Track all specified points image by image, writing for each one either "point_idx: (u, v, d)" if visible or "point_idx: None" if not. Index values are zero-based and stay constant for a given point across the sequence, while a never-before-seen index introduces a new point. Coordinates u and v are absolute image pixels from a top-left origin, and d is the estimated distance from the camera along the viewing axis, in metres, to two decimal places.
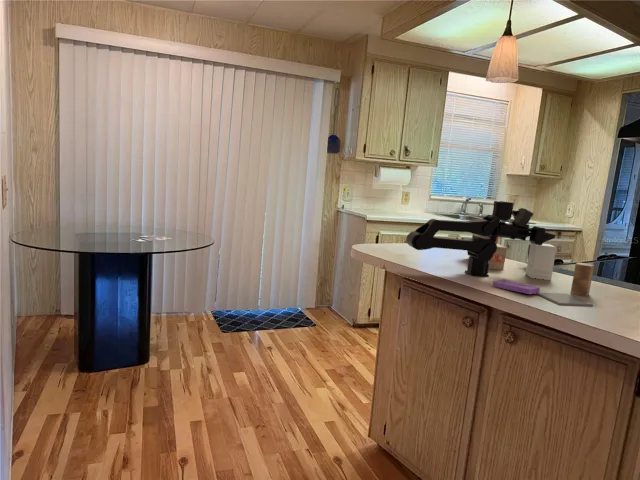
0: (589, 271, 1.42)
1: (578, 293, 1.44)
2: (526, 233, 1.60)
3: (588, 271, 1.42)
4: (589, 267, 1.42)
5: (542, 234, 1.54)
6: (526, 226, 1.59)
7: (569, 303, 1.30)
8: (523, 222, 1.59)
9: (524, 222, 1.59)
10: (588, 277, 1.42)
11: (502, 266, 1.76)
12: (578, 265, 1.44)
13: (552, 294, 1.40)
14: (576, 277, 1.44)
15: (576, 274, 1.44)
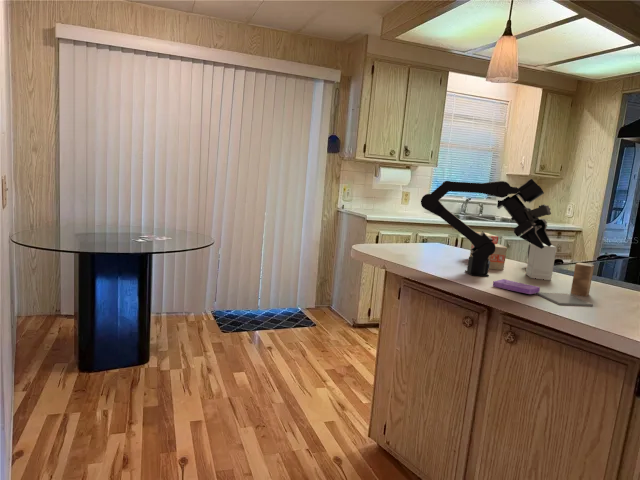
0: (589, 271, 1.42)
1: (578, 293, 1.44)
2: None
3: (588, 271, 1.42)
4: (589, 267, 1.42)
5: (525, 227, 1.46)
6: (530, 218, 1.51)
7: (569, 303, 1.30)
8: (531, 213, 1.51)
9: (532, 213, 1.51)
10: (588, 277, 1.42)
11: (502, 266, 1.76)
12: (578, 265, 1.44)
13: (552, 294, 1.40)
14: (576, 277, 1.44)
15: (576, 274, 1.44)
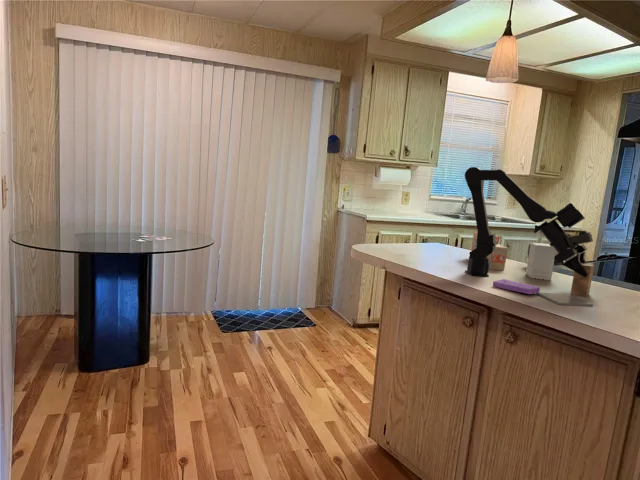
0: (589, 271, 1.42)
1: (578, 293, 1.44)
2: None
3: (588, 271, 1.42)
4: (589, 267, 1.42)
5: (567, 255, 1.39)
6: (571, 245, 1.44)
7: (569, 303, 1.30)
8: (572, 240, 1.44)
9: (573, 240, 1.44)
10: (588, 277, 1.42)
11: (503, 266, 1.75)
12: None
13: (552, 294, 1.40)
14: (576, 277, 1.44)
15: (576, 274, 1.44)
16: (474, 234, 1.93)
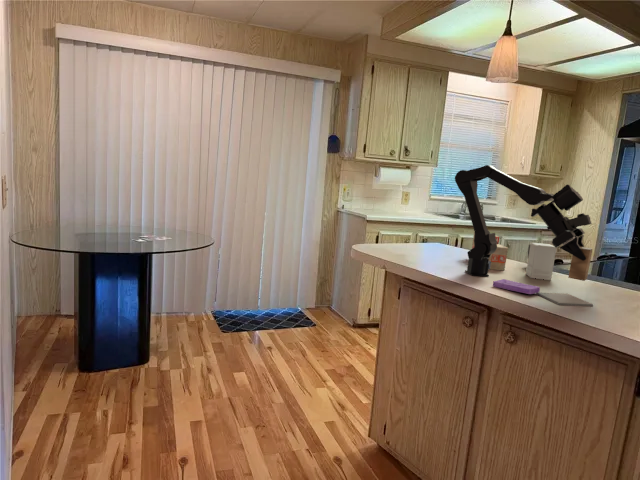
0: (588, 254, 1.38)
1: (576, 277, 1.40)
2: None
3: (587, 254, 1.38)
4: (588, 250, 1.38)
5: (565, 238, 1.35)
6: (569, 228, 1.40)
7: (569, 303, 1.30)
8: (570, 222, 1.40)
9: (571, 223, 1.40)
10: (586, 261, 1.38)
11: (503, 266, 1.75)
12: None
13: (552, 294, 1.40)
14: (574, 261, 1.40)
15: (575, 258, 1.40)
16: (474, 234, 1.93)
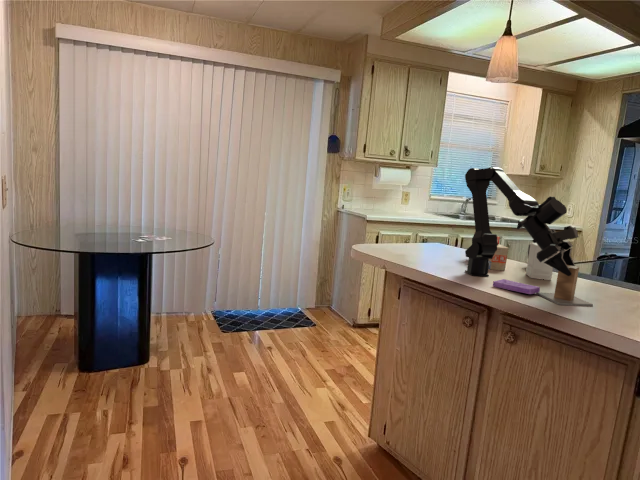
0: (573, 274, 1.32)
1: (562, 297, 1.34)
2: None
3: (572, 274, 1.32)
4: (573, 269, 1.32)
5: (550, 252, 1.29)
6: (554, 241, 1.34)
7: (569, 303, 1.30)
8: (556, 235, 1.34)
9: (557, 236, 1.34)
10: (572, 280, 1.32)
11: (504, 267, 1.75)
12: None
13: (552, 294, 1.40)
14: (559, 280, 1.35)
15: (560, 277, 1.34)
16: None
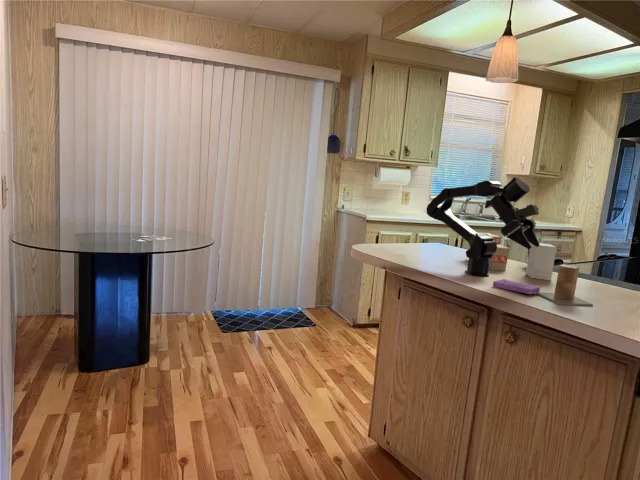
0: (573, 274, 1.32)
1: (562, 297, 1.34)
2: None
3: (572, 274, 1.32)
4: (573, 269, 1.32)
5: (512, 227, 1.44)
6: (517, 218, 1.48)
7: (569, 303, 1.30)
8: (519, 213, 1.48)
9: (519, 213, 1.48)
10: (572, 280, 1.32)
11: (504, 267, 1.74)
12: (562, 267, 1.34)
13: (552, 294, 1.40)
14: (559, 280, 1.35)
15: (560, 277, 1.34)
16: None
